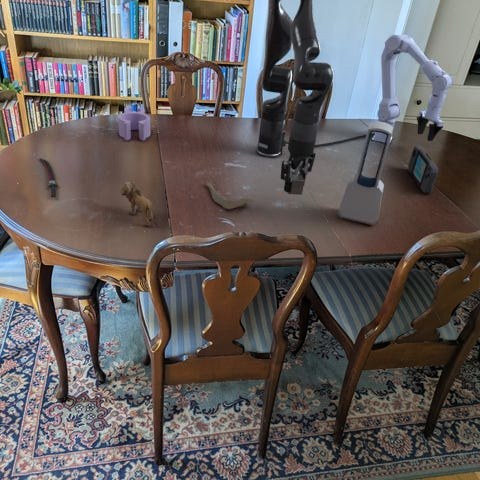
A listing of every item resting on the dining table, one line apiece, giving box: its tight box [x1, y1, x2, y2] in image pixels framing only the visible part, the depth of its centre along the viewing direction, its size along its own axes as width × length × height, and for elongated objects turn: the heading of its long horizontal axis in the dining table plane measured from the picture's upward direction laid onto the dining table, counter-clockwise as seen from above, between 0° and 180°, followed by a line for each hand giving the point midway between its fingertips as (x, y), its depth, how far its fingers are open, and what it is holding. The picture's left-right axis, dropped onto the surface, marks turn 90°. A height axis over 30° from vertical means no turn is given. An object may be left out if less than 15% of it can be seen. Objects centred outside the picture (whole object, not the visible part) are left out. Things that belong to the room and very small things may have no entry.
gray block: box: [287, 173, 305, 196], centre depth 141 cm, size 4×5×5 cm
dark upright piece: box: [284, 66, 304, 130], centre depth 206 cm, size 9×8×30 cm
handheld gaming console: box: [407, 145, 439, 195], centre depth 173 cm, size 23×3×10 cm, turn 178°
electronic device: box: [337, 121, 394, 226], centre depth 139 cm, size 12×8×30 cm, turn 71°
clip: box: [117, 106, 151, 142], centre depth 190 cm, size 20×12×7 cm, turn 11°
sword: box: [40, 158, 59, 198], centre depth 151 cm, size 31×3×1 cm, turn 26°
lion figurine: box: [119, 181, 159, 227], centre depth 134 cm, size 15×5×9 cm, turn 50°
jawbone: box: [205, 181, 254, 211], centre depth 149 cm, size 9×20×2 cm, turn 50°
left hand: (293, 188), depth 141 cm, fingers closed on gray block, 6 cm apart
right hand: (424, 137), depth 197 cm, fingers open, 7 cm apart
